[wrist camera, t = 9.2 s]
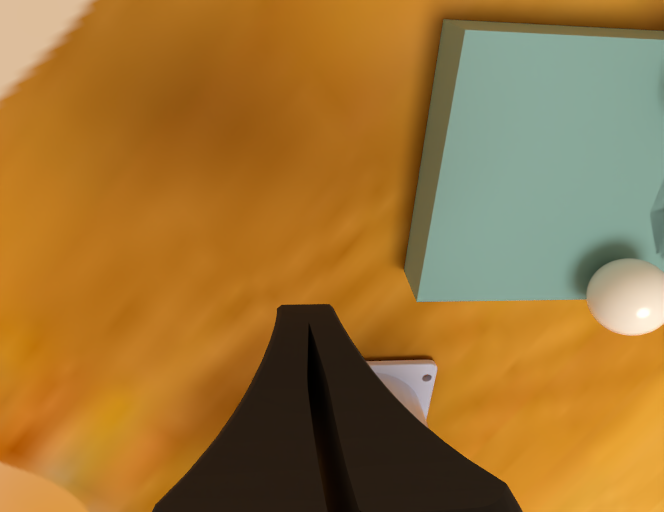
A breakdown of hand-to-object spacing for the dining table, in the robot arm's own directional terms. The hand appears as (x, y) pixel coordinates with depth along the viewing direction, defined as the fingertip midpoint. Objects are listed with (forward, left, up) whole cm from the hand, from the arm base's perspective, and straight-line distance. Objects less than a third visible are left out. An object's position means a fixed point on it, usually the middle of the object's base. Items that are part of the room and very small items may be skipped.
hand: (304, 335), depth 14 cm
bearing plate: (+1, -15, -10) cm, 18 cm away
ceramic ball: (-3, -14, -6) cm, 15 cm away
